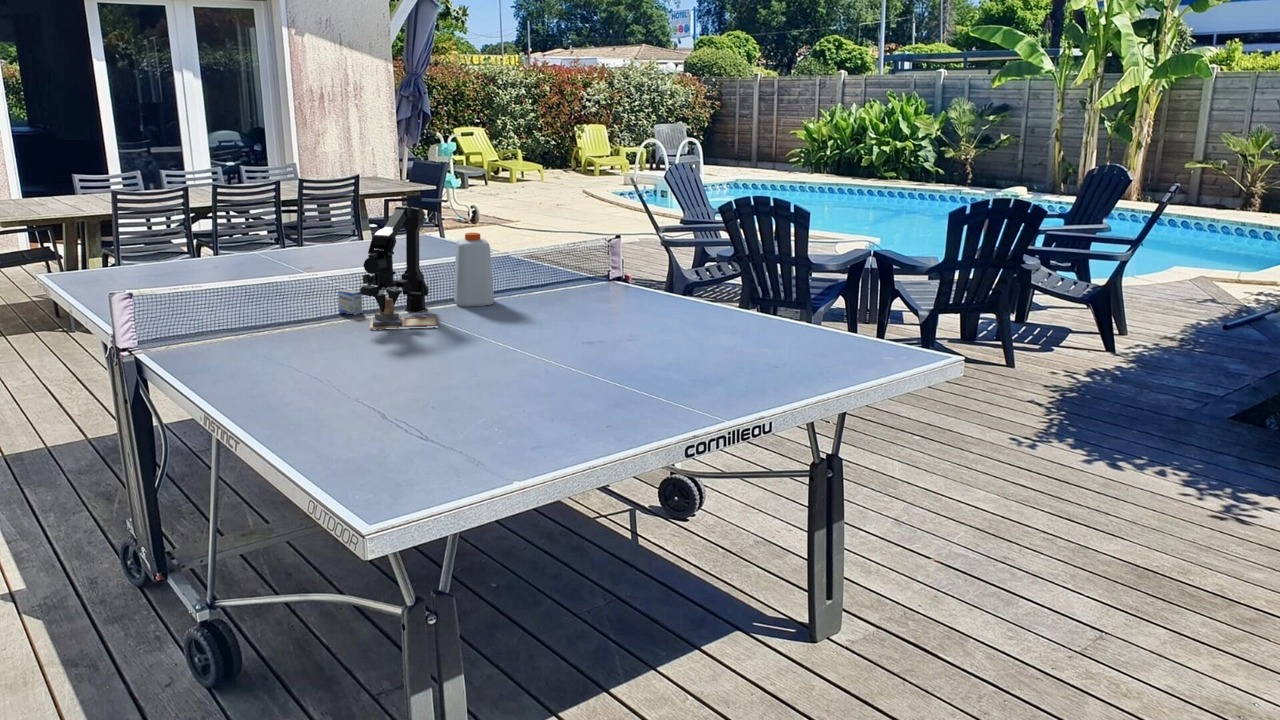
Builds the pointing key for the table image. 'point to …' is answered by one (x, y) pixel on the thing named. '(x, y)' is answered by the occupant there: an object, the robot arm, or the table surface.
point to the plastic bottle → (473, 272)
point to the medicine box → (350, 302)
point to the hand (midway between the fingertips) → (386, 310)
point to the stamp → (387, 312)
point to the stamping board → (404, 322)
